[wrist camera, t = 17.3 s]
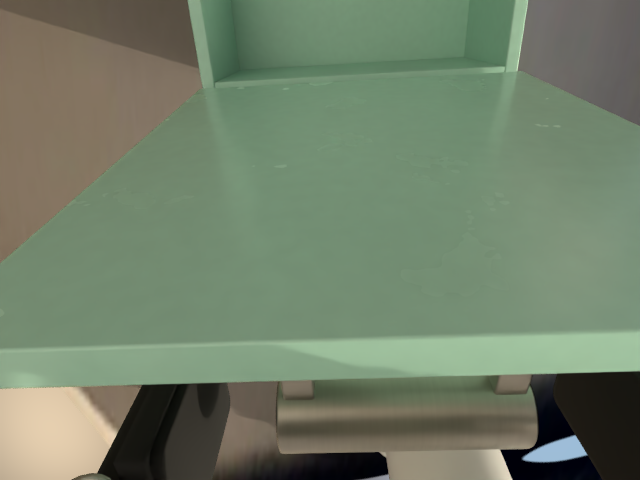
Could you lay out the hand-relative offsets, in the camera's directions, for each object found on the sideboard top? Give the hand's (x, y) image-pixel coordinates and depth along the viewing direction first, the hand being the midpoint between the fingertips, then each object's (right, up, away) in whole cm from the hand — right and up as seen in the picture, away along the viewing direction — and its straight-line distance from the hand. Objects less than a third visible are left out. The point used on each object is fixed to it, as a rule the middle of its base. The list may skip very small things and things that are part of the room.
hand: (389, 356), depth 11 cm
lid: (0, +6, +1) cm, 6 cm away
